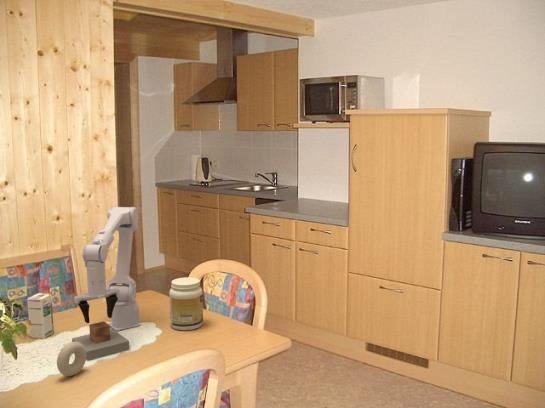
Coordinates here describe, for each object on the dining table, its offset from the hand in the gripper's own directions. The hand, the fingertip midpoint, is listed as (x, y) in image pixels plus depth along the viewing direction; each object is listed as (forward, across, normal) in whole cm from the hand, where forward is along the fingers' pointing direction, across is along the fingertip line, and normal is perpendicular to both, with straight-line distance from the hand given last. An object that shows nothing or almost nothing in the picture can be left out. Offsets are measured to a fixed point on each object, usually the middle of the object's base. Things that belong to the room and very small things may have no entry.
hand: (98, 319), depth 184 cm
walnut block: (+6, 0, -1) cm, 6 cm away
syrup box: (+10, -12, +22) cm, 27 cm away
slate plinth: (+9, 0, -2) cm, 9 cm away
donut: (+10, -14, -16) cm, 23 cm away
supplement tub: (+10, +33, -1) cm, 34 cm away
